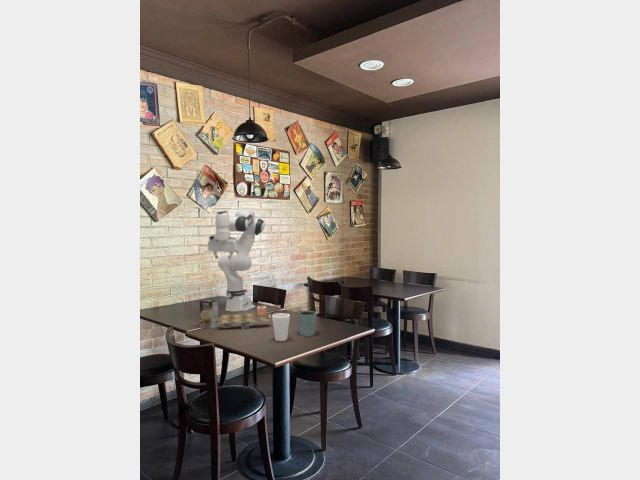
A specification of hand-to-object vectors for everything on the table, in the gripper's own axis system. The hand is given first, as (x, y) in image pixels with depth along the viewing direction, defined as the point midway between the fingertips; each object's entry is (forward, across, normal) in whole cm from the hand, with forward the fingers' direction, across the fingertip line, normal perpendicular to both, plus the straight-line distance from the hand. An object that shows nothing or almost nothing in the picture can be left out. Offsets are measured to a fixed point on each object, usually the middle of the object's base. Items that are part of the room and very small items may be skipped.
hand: (223, 258), depth 249 cm
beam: (+40, -20, +9) cm, 46 cm away
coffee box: (+40, +2, +14) cm, 42 cm away
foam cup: (+40, -50, +24) cm, 69 cm away
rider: (+33, -29, +4) cm, 44 cm away
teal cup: (+40, -60, +10) cm, 73 cm away
